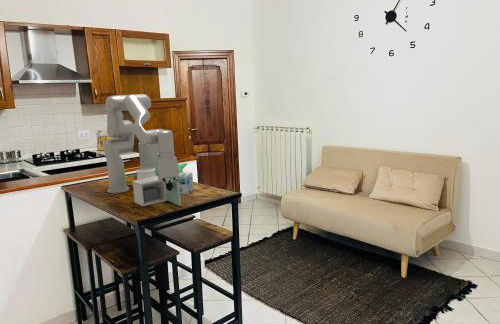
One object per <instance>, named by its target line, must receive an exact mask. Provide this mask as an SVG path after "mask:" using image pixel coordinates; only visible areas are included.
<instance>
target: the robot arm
mask: <svg viewBox="0 0 500 324" xmlns="http://www.w3.org/2000/svg"><path fill="white" fill-rule="evenodd" d="M151 107H152V100H151V98H150V97H149V95H147V94H145V93H139V94H138V93H136V94H119V95H118V94H117V95H110V96H108V97H107V98H106V99H105V109H106V134H107V136H108V137H109V139H107V140H105V141H104V142H103V144H102V149H103V152H104V155H105V160H106V167H107V168H106V169H107V175H108V184H109V188H108V189H107V191H106V192H107V193H108V194H121V193H125V192H128V191H130V186H127V181H126V179H127V178H126V173H125V172H126V171H125V163H124V160H123V157H121V156H120V155H122V154H128V153H130V152H133V150H134V147H135V145H134V144H135V137H136V138H137V140H138V141H139V143H140V142H141V143H142V144H143V145H153V144H158V153H157V154H156V156H158V157H159V158H158V165H157V171H158V180H161V181H164V182H166V189H167V190H168V191H172V188H173V185H172V183H173V181H174V180H175V179H176V178H179V168H178V164H179V163H178V158H177V157H176V156H175V147H174V137H173V136H174V134H173V133H174V132H173V131H172V130H170V129H163V128H156V129H147V130H145V127H143V124H145V123H146V122H148V121H149V119H150V118H151V114H150V112H149V110H148V109H150V108H151ZM122 111H123V112H124V111H128V112H129V115H130V116H131V117H132V119H133V120H134V123H133V122H132V121H131V120H127V119H125V120H124V114H123V112H122ZM168 178H170V179H169V182H168ZM167 190H166V191H167Z"/></svg>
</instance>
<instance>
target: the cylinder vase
mask: <svg viewBox="0 0 500 324" xmlns="http://www.w3.org/2000/svg"><path fill="white" fill-rule="evenodd" d="M137 144H138V154H139V164H140V169H141V168H155V171H154V172H155V174H156V172H157V165H158V158H159V157H158V156H156V154H157V153H158V152H159V149H158V144H153V145H143V144H142V143H141V142H140V141H139V142H138V143H137Z"/></svg>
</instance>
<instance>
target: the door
mask: <svg viewBox="0 0 500 324" xmlns="http://www.w3.org/2000/svg"><path fill="white" fill-rule="evenodd" d="M168 182H169V179H168ZM172 185H173V188H172V191H168V190H167V189H166V195H167V201H168V202H170V203H172V204H175V205H177V206H178V207H180V206H182V199H181V194H180V190H181V187H180V184H179V182H176V181H173V183H172Z"/></svg>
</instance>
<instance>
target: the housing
mask: <svg viewBox="0 0 500 324" xmlns="http://www.w3.org/2000/svg"><path fill="white" fill-rule="evenodd" d="M132 189H133V192H132V193H133V201H134V203H135V204H137V205H139V206H140V207H146V206H150V205H155V204H158V203H163V202H166V201H168V200H167V190H166V184H165V182H164V181H161V180H158V176H155V177H150V178H145V179H139V180H137V179H136V180H132Z"/></svg>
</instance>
